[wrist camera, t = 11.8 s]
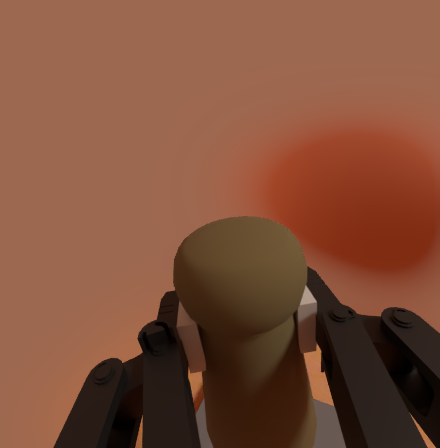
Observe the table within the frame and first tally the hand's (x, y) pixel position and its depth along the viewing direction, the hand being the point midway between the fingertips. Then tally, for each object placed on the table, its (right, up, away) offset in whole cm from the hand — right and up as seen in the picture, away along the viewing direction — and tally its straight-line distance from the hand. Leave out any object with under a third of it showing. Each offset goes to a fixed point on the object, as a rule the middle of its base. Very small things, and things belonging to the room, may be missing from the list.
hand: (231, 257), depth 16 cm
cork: (+1, -8, -2) cm, 9 cm away
